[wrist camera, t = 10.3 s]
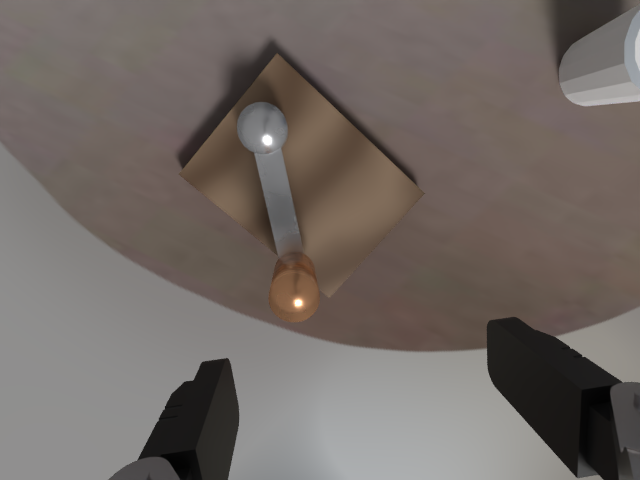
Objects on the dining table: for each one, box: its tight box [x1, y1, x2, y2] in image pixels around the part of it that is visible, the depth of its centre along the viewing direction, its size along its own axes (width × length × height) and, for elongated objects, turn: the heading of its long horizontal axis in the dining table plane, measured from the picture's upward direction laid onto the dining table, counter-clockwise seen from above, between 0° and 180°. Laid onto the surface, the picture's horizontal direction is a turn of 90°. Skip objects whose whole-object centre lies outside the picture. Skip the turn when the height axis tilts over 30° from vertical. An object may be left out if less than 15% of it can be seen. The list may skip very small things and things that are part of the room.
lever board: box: [179, 53, 425, 298], centre depth 30 cm, size 16×12×2 cm
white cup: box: [559, 4, 640, 106], centre depth 27 cm, size 7×7×7 cm
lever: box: [237, 102, 320, 322], centre depth 25 cm, size 14×4×8 cm, turn 11°
